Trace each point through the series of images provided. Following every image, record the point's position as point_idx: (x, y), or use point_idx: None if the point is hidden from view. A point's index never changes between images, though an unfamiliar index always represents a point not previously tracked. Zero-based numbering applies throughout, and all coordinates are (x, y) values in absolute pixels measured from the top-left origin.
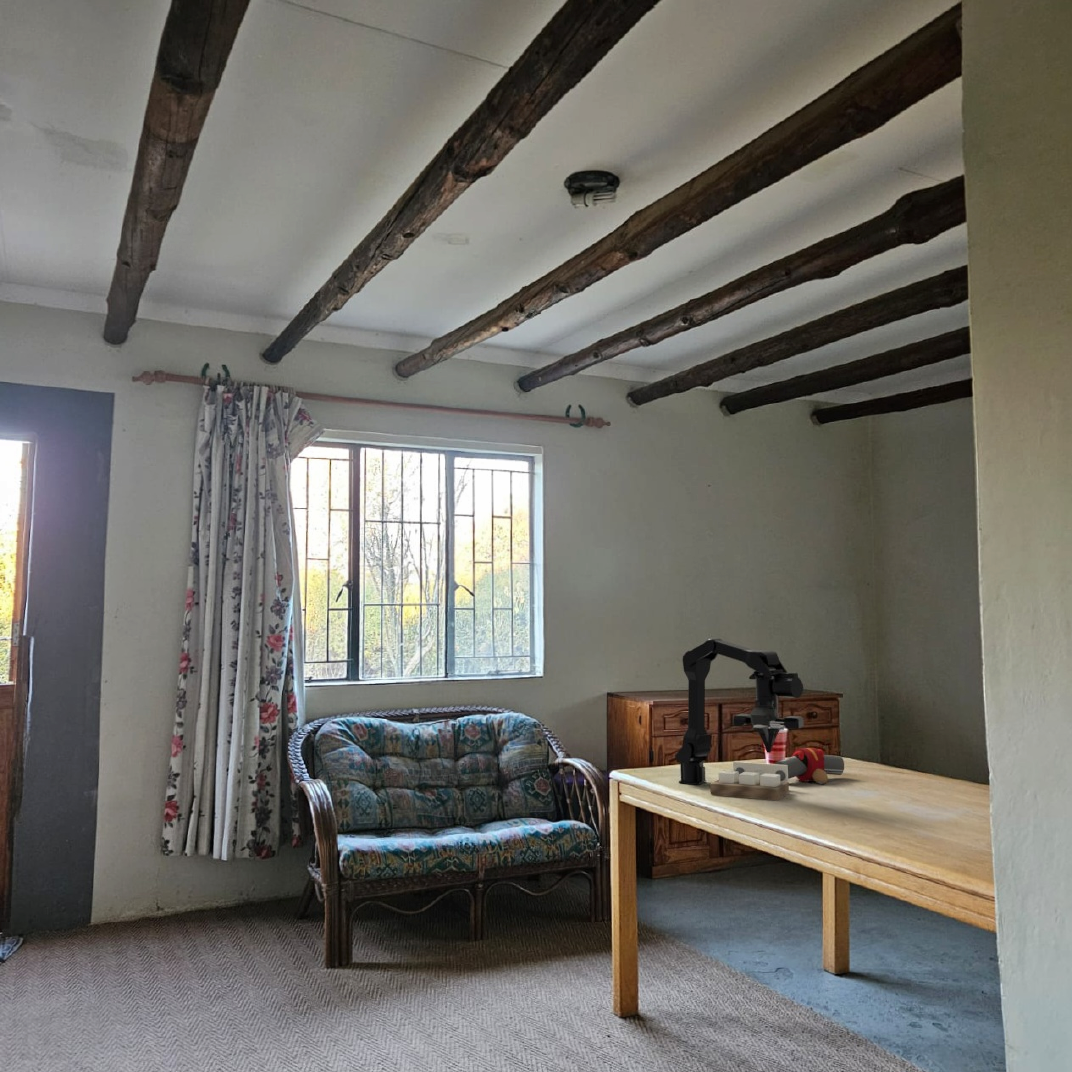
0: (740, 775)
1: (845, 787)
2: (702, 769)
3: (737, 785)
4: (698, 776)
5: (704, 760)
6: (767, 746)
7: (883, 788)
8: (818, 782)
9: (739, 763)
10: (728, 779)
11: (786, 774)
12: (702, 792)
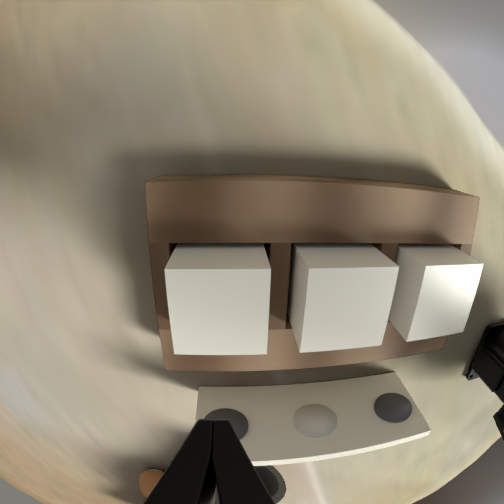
0: (388, 264)
1: (87, 448)
2: (499, 370)
3: (375, 197)
4: (497, 349)
5: (499, 409)
6: (214, 462)
7: (29, 444)
8: (160, 471)
9: (407, 433)
10: (431, 253)
11: None
12: (477, 219)
